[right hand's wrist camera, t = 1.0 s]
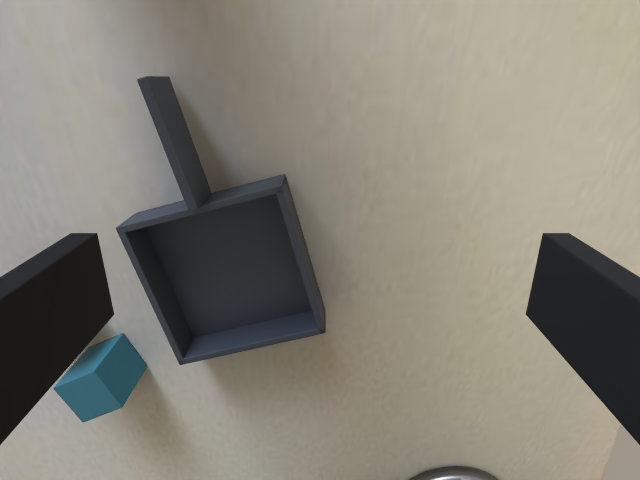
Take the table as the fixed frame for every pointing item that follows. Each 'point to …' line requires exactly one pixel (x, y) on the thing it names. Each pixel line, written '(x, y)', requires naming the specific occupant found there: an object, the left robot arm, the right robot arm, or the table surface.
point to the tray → (220, 253)
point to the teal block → (101, 378)
